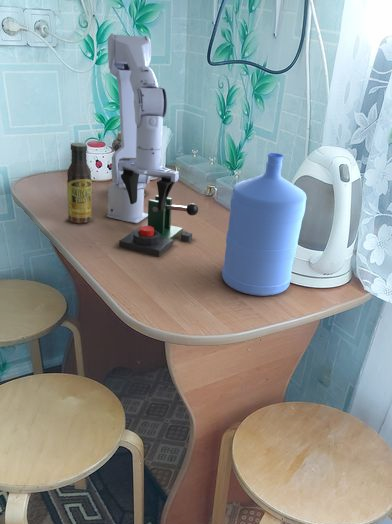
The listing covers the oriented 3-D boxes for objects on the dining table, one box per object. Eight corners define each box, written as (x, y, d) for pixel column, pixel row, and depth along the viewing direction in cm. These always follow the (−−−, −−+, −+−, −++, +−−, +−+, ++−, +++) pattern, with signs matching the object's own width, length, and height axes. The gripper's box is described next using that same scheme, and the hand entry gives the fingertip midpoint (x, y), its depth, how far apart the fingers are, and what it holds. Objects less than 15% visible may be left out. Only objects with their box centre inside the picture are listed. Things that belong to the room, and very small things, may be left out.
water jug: (271, 305, 109) (297, 171, 94) (208, 282, 116) (222, 153, 100) (299, 279, 121) (326, 156, 105) (241, 260, 127) (258, 141, 111)
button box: (119, 247, 128) (119, 233, 126) (134, 236, 134) (134, 223, 132) (159, 257, 125) (159, 243, 123) (172, 245, 131) (173, 232, 129)
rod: (199, 214, 131) (199, 202, 130) (195, 217, 129) (195, 205, 127) (157, 209, 135) (157, 198, 134) (152, 212, 133) (152, 201, 131)
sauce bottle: (71, 225, 137) (67, 147, 125) (65, 217, 141) (60, 141, 130) (95, 223, 139) (93, 146, 128) (88, 215, 144) (85, 140, 133)
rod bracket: (182, 232, 139) (185, 198, 134) (168, 243, 132) (170, 208, 127) (149, 224, 142) (150, 191, 137) (134, 235, 135) (134, 200, 130)
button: (136, 235, 127) (136, 228, 126) (143, 231, 129) (143, 224, 128) (149, 238, 126) (150, 232, 125) (156, 234, 128) (156, 227, 127)
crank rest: (180, 240, 134) (180, 234, 133) (183, 237, 136) (183, 231, 135) (188, 242, 134) (189, 236, 133) (191, 239, 135) (192, 233, 134)
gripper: (111, 144, 115) (112, 204, 122) (170, 156, 111) (167, 217, 118) (126, 139, 120) (126, 196, 128) (183, 149, 116) (180, 208, 124)
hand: (147, 206), depth 123 cm, fingers open, 7 cm apart
